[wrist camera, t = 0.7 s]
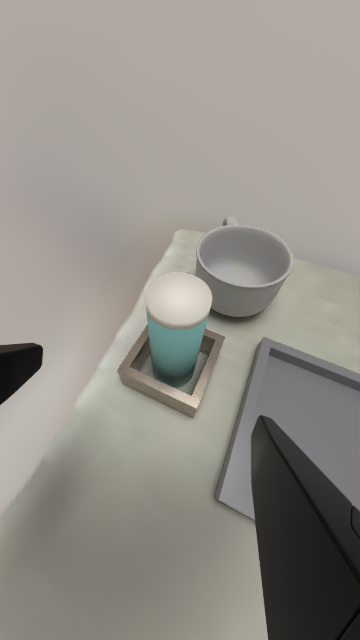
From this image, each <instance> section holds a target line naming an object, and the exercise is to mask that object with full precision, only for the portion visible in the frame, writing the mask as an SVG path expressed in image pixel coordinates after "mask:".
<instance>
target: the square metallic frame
mask: <svg viewBox="0 0 360 640" xmlns="http://www.w3.org/2000/svg"><path fill="white" fill-rule="evenodd" d="M224 339H225V337H224V336H222V335H219V334H217V333H214V332H212V331H209V330H207V329H205V331H204V335H203V339H202V342H201V346H200V350H199V351H201V352H204V353H206V354H208V355H209V357H208V359H207V361H206V364H205V366H204V369H203V371H202V373H201V376H200V378H199V380H198V383H197V385H196V388H195V390H194V392H193V395H192V396H190V395H188V394H186V393H184V392H182V391H180V390H178V389H175V388H173V387H171V386H169V385H167V384H165V383H163V382H161V381H158V380H156V379H154V378H152V377H150V376H148V375H146V374H144V373H141V372H139V370H140V368H141V367H142V365H143V363H144V362H145V360H146V358H147V357H148V355H149V353H150V352H151V348H150V339H149V329H148V325H147V326H146V328H145V329H144V331H143V332H142V334H141V335H140V337H139V338H138V340H137V341H136V343H135V344H134V346H133V347H132V349H131V350H130V352H129V353H128V355H127V356H126V358H125V359H124V361H123V362H122V364H121V365H120V367H119V368H118V370H117V371H118V374H119V376H120V378H121V381H122V383H123V384H124V385H126V386H128V387H130V388H132V389H135V390H137V391H139V392H141V393H143V394H145V395H147V396H149V397H151V398H153V399H155V400H157V401H159V402H161V403H163V404H165V405H167V406H169V407H171V408H173V409H175V410H177V411H179V412H181V413H183V414H185V415H187V416H189V417H192V418H193V416H194V414H195V412H196V410H197V407H198V405H199V402H200V399H201V397H202V394H203V392H204V389H205V387H206V384H207V382H208V379H209V377H210V374H211V372H212V369H213V367H214V364H215V362H216V359H217V357H218V354H219V352H220V349H221V346H222V344H223V341H224Z"/></svg>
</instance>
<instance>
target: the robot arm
mask: <svg viewBox="0 0 360 640" xmlns="http://www.w3.org/2000/svg"><path fill="white" fill-rule="evenodd" d="M42 357H43V348H42V346H41V345H37V344H35V343H24V344H11V345H0V405H1V404H2V403H3V402H5V401H6V400H7V399H8V398H9V397H10V396H11V395H12V394H14V393H15V392H16V391H17V390H18V389H19V388H20V387H21V386H22V385H23V384H24V383H25V382H27V380H29V379H30V378H31V377H32V376H33V375H34V374H35V373H36V372H37V371H38V370H39V369H40V367H41V365H42ZM251 487H252V496H253V505H254V515H255V524H256V533H257V542H258V551H259V560H260V569H261V578H262V587H263V597H264V606H265V615H266V624H267V633H268V640H360V511H359V510H358V509H357V508H356V507H355V506H352V503H351V502H350V501H349V499H348V498H347V497H346V496H345V495H344V494H343V493H342V492H341V491H340V490H339V489H338V488H337V487H336V486H335V485H334V484H333V483H332V482H331V480H330V479H329V478H328V477H327V476H326V475H325V474H324V473H323V472H322V471H321V470H320V469H319V468H318V467H317V466H316V465H315V464H314V463H313V461H312V460H311V459H310V458H309V457H308V456H307V455H306V454H305V453H304V452H303V451H302V450H301V449H300V448H299V447H298V446H297V445H296V444H295V442H294V441H293V440H292V439H291V438H290V437H289V436H288V435H287V434H286V433H285V432H284V431H283V430H282V429H281V428H280V427H279V426H278V425H277V424H276V422H275V421H274V420H273V419H272V418H270V417H267V416H264V415H259V416H258V418H257V421H256V423H255V426H254V429H253V431H252V434H251Z"/></svg>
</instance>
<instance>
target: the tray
mask: <svg viewBox="0 0 360 640" xmlns="http://www.w3.org/2000/svg"><path fill="white" fill-rule="evenodd" d="M259 415H264V416H267V417H270V418H272V419H273V420H274V421H275V422H276V424H277V425H278V426H279V427H280V428H281V429H282V430H283V431H284V432H285V433H286V434H287V435H288V436H289V437H290V438H291V439H292V440H293V441H294V442H295V444H296V445H297V446H298V447H299V448H300V449H301V450H302V451H303V452H304V453H305V454H306V455H307V456H308V457H309V458H310V459H311V460H312V461H313V463H314V464H315V465H316V466H317V467H318V468H319V469H320V470H321V471H322V472H323V473H324V474H325V475H326V476H327V477H328V478H329V479H330V480H331V482H332V483H333V484H334V485H335V486H336V487H337V488H338V489H339V490H340V491H341V492H342V493H343V494H344V495H345V496H346V497H347V498H348V499H349V501H350V502H351V503H352V506H355V507H356V508H357V509H358V510H359V511H360V374H358V373H356V372H353V371H350V370H348V369H345V368H343V367H340V366H337V365H335V364H332V363H330V362H327V361H325V360H322V359H319V358H317V357H314V356H312V355H309V354H307V353H304V352H301V351H299V350H296V349H294V348H291V347H288V346H286V345H283V344H281V343H278V342H276V341H273V340H270V339H268V338H265V337H263V339H262V340H261V342H260V343H259V345H258V347H257V350H256V354H255V357H254V361H253V364H252V368H251V371H250V375H249V378H248V382H247V385H246V389H245V392H244V396H243V399H242V403H241V406H240V410H239V413H238V417H237V420H236V424H235V427H234V431H233V434H232V438H231V441H230V445H229V448H228V452H227V455H226V459H225V462H224V466H223V469H222V473H221V476H220V480H219V483H218V487H217V490H216V493H215V497H214V499H216V500H218V501H220V502H222V503H223V504H225V505H227V506H229V507H231V508H232V509H234V510H236V511H238V512H240V513H241V514H243V515H245V516H247V517H249V518H250V519H252V520H254V521H255V515H254V505H253V496H252V487H251V434H252V431H253V429H254V426H255V423H256V421H257V418H258V416H259Z"/></svg>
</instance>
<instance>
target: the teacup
mask: <svg viewBox="0 0 360 640" xmlns="http://www.w3.org/2000/svg"><path fill="white" fill-rule="evenodd" d="M196 256H197V263H196V277H198V278H200V279H201V280H203V281H204V282H205V283H206V284H207V285H208V287H209V288H210V290H211V293H212V304H211V308H212V309H213V310H215V311H217V312H219V313H221V314H224V315H227V316H233V317H245V316H251V315H254V314H256V313H259V312H261V311H262V310H264V309H265V308H266V307H267V306H268V305H269V304H270V303H271V302H272V301H273V299H274V298H275V296H276V295H277V293H278V292H279V290H280V288H281V286H282V285H283V283H284V281H285V279H286V278H287V277H288V275H289V274H290V272H291V270H292V268H293V265H294V257H293V254H292V251H291V249H290V248H289V246H288V245H287V244H286V243H285V242H284V241H283V240H282V239H281V238H280V237H278V236H277V235H275V234H273V233H272V232H270V231H267V230H265V229H262V228H258V227H254V226H248V225H238V220H237V218H236V217H227V218H225V219H224V221H223V224H222V227H219V228H215V229H213V230H211V231H209V232H208V233H206V234H205V235H204V236H203V237H202V238H201V239H200V241H199V243H198V245H197V249H196Z"/></svg>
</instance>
